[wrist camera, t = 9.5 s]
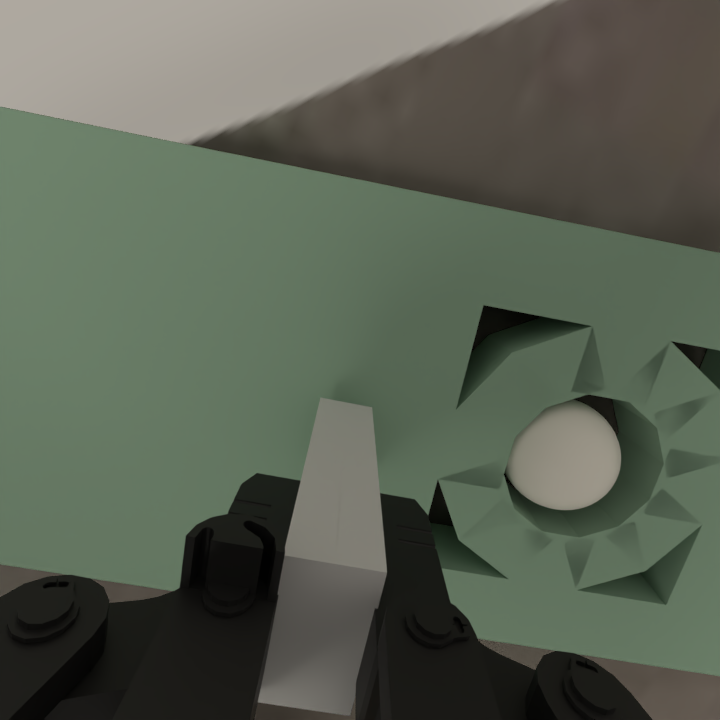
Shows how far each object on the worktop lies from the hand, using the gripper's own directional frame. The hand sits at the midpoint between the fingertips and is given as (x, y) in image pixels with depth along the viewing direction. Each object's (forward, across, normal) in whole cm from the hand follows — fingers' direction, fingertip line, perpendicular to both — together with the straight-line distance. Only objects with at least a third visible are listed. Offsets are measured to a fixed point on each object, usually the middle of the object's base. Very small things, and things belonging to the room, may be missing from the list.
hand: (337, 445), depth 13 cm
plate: (+3, 0, 0) cm, 3 cm away
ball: (+1, +7, 0) cm, 7 cm away
